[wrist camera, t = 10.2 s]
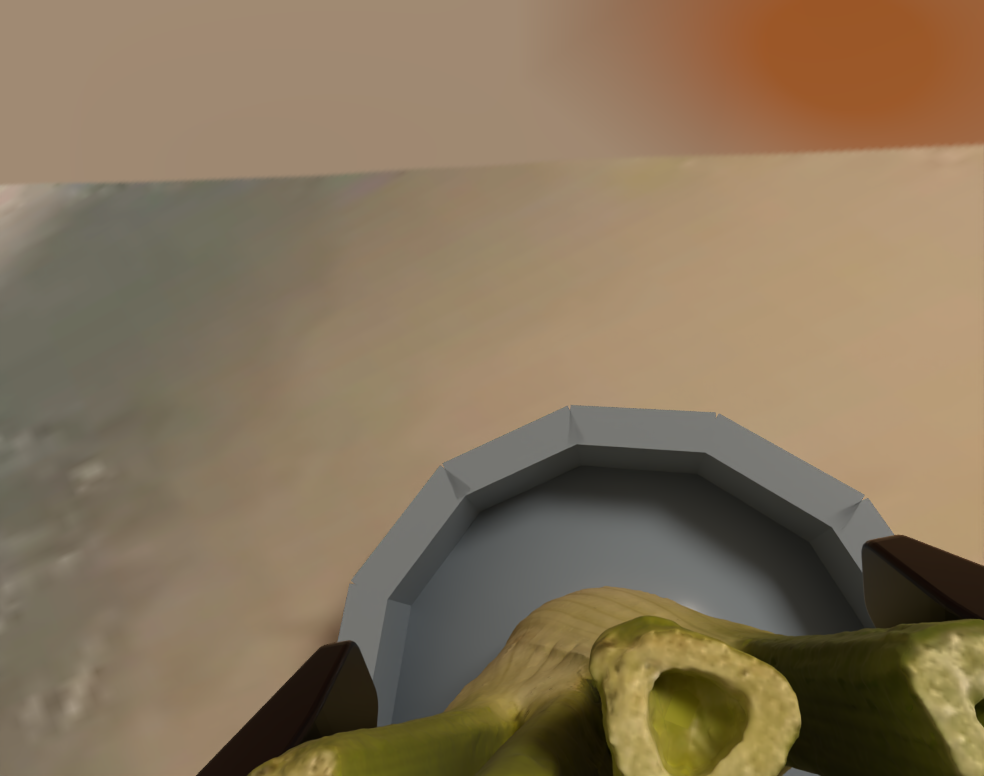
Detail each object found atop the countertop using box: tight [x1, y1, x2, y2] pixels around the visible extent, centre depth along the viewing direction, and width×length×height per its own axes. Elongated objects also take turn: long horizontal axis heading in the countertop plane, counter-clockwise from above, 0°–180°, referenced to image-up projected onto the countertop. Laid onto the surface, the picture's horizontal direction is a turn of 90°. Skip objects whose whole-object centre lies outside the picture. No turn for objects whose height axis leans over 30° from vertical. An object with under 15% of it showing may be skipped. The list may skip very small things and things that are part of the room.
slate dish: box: [338, 405, 894, 776], centre depth 14 cm, size 13×13×3 cm
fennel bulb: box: [247, 586, 984, 776], centre depth 9 cm, size 6×5×12 cm
